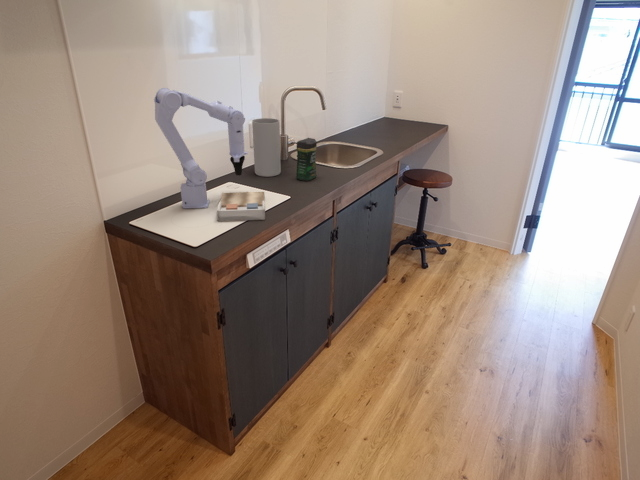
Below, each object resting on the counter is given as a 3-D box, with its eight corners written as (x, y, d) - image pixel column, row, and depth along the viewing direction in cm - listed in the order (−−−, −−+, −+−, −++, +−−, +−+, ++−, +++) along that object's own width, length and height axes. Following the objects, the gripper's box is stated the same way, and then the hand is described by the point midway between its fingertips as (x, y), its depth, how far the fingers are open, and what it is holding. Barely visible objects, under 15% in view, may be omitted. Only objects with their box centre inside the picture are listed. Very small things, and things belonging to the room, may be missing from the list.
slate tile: (247, 213, 153) (246, 207, 152) (247, 209, 157) (247, 203, 156) (258, 213, 154) (257, 207, 153) (258, 209, 157) (257, 203, 156)
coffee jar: (308, 182, 192) (308, 142, 183) (293, 179, 195) (293, 139, 187) (318, 177, 199) (319, 138, 191) (305, 174, 203) (305, 135, 194)
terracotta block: (226, 214, 152) (225, 208, 151) (227, 210, 156) (226, 204, 155) (237, 214, 153) (237, 207, 152) (238, 209, 156) (237, 203, 155)
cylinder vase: (278, 168, 210) (276, 117, 199) (282, 176, 199) (281, 123, 188) (253, 170, 207) (250, 118, 196) (256, 178, 196) (253, 123, 185)
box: (218, 221, 151) (216, 211, 149) (220, 211, 159) (219, 201, 157) (265, 219, 153) (264, 209, 151) (264, 210, 161) (264, 200, 159)
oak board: (220, 211, 159) (219, 205, 158) (222, 198, 171) (222, 192, 170) (264, 210, 161) (264, 204, 160) (264, 197, 173) (264, 191, 172)
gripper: (246, 145, 158) (248, 180, 164) (247, 137, 170) (249, 169, 177) (227, 145, 157) (230, 180, 163) (229, 137, 170) (232, 169, 176)
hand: (238, 174), depth 170 cm, fingers closed
